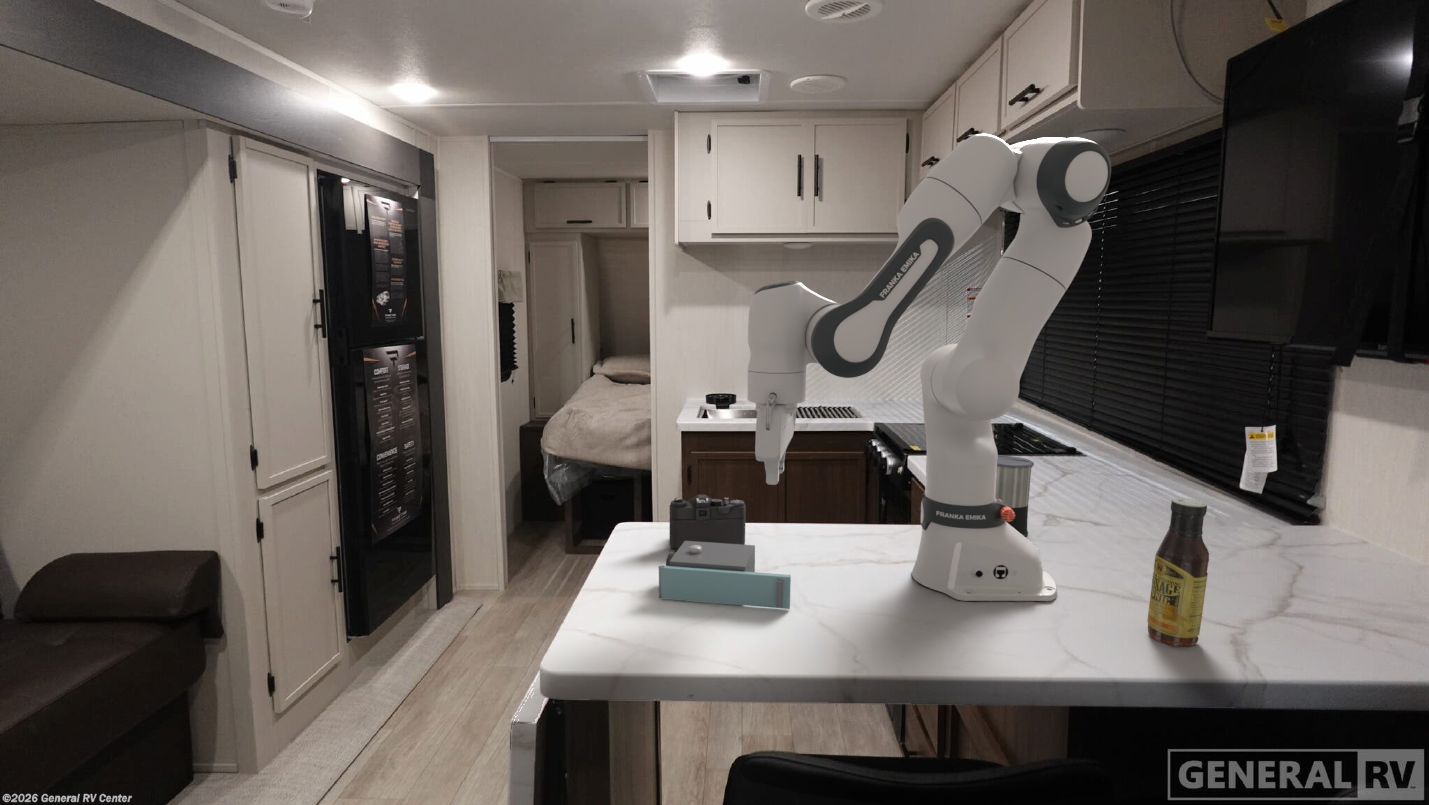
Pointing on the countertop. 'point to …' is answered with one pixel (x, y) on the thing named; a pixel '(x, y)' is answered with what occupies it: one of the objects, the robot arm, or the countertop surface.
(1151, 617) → the sauce bottle
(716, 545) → the camera housing
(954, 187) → the robot arm
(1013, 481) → the milk frother
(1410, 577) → the countertop surface
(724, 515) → the camera
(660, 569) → the side door
